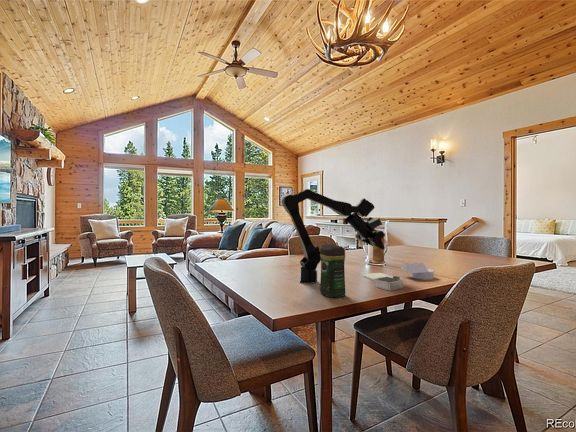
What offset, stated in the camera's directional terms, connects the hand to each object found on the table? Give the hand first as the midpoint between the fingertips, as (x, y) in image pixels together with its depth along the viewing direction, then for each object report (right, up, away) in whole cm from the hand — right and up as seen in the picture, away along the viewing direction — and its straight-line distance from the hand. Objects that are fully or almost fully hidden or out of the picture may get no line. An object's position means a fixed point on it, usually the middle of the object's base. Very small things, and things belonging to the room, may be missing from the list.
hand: (381, 248), depth 137 cm
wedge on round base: (+17, -14, 0) cm, 22 cm away
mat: (-1, -13, 0) cm, 13 cm away
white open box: (-2, -14, -16) cm, 21 cm away
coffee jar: (-26, -15, -26) cm, 39 cm away
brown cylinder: (-1, -7, 0) cm, 7 cm away
